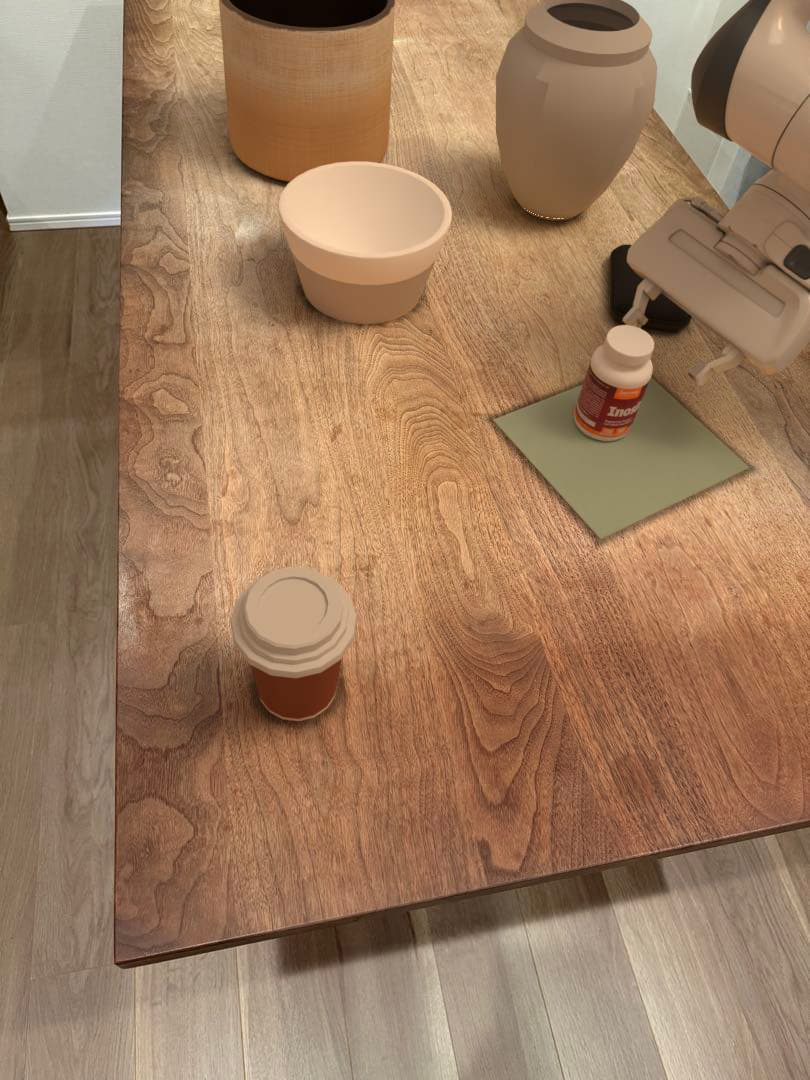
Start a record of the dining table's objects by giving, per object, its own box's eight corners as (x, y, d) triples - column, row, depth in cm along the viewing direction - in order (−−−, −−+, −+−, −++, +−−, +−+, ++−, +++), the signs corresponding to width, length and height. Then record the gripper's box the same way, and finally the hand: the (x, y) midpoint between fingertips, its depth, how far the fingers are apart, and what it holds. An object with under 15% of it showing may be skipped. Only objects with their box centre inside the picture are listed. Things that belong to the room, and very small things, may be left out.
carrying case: (696, 342, 103) (689, 269, 112) (705, 321, 101) (697, 249, 110) (606, 328, 103) (606, 257, 112) (612, 307, 101) (613, 236, 110)
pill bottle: (601, 452, 90) (631, 369, 81) (560, 416, 93) (584, 333, 84) (642, 428, 93) (675, 346, 84) (601, 395, 95) (629, 312, 87)
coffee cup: (324, 623, 75) (324, 537, 66) (372, 709, 71) (380, 630, 61) (224, 663, 72) (209, 579, 63) (267, 756, 67) (258, 680, 58)
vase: (484, 244, 112) (517, 42, 93) (472, 164, 124) (499, -29, 105) (632, 250, 114) (695, 53, 95) (606, 171, 126) (657, -18, 107)
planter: (329, 98, 133) (330, -53, 117) (419, 164, 123) (433, 9, 107) (200, 134, 124) (182, -25, 108) (286, 209, 114) (280, 46, 98)
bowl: (248, 281, 104) (241, 197, 95) (365, 224, 113) (368, 143, 105) (359, 363, 96) (362, 280, 88) (475, 294, 106) (488, 213, 97)
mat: (635, 366, 100) (636, 363, 99) (748, 469, 91) (749, 467, 90) (492, 422, 92) (492, 419, 92) (599, 541, 83) (600, 538, 83)
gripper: (678, 173, 86) (581, 285, 90) (843, 283, 77) (726, 404, 80) (695, 203, 92) (602, 307, 96) (851, 310, 82) (741, 422, 86)
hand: (660, 352), depth 88 cm, fingers open, 8 cm apart
